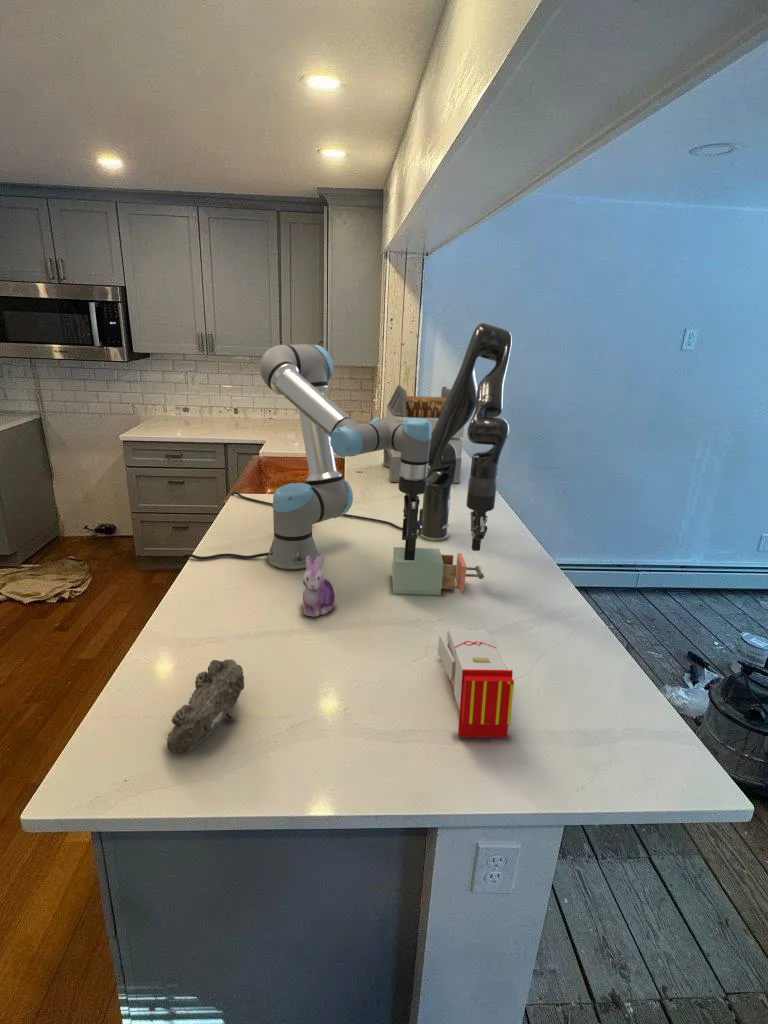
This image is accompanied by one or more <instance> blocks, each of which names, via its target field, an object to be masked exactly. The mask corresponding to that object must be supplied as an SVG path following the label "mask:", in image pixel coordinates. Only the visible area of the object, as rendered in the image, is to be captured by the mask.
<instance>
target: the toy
mask: <svg viewBox="0 0 768 1024" xmlns="http://www.w3.org/2000/svg"><path fill="white" fill-rule="evenodd" d="M446 640H447V643H446V641H445V639H444V636H443V635H442V634H439V637H438V646H437V656H438V657H439V659H440V661H441V663H442V666H443V668H444V670H445V672H446V674H447V677H448V679H449V681H450V684H451V687H452V690H453V693H454V697H455V701H456V705H457V708H458V711H459V714H458V715H459V716H458V730H457V731H458V732H457V737H458V738H508V731H509V726H510V725H511V717H512V707H513V697H514V696H513V695H514V684H515V680H514V679H513V673H514V671H513V670H512V669H508V667H507V665H506V662H505V661H504V659H503V658H502V655H501V653H500V651H499V649H498V647H497V643H496V639H495V637H494V635H493V634H491V632H490V631H489V629H467V628H466V629H465V628H463V629H461V628H460V629H459V628H448V630H447V639H446Z"/></svg>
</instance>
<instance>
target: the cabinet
mask: <svg viewBox="0 0 768 1024" xmlns="http://www.w3.org/2000/svg"><path fill="white" fill-rule="evenodd" d="M392 554H393V555H392V556H393V557H392V573H391V574H392V575H391V579H392V581H391V582H392V593H393V594H398V595H399V594H401V595H402V594H403V595H429V596H430V595H431V596H433V595H434V596H441V595H442V589H441V588H442V577H443V566H444V563H443V559H442V556H441V555H442V553H441V549H440V548H431V547H430V548H427V547H426V548H425V547H415V559H414V560H404V555H405V547H397V546H393V552H392Z"/></svg>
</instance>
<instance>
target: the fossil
mask: <svg viewBox="0 0 768 1024" xmlns="http://www.w3.org/2000/svg"><path fill="white" fill-rule="evenodd" d="M243 670H244V669H243V667H242V665H240V664H237V662H236V661H235V660H234V659H232V658H231V659H227V658H226V659H224V660H223V661H222V660H217V659H212V660H211V661H210V663H209V665H208V666H207V671H201V672H199V673H198V674H197V675H196V676H195V680H194V684H195V685H194V687H195V689H194V690H193V693H192V694H191V697H190V698H189V700H188V704H184V705H182V706H181V707H180V709H177V710H176V711H175V713H174V715H173V716H172V718H171V723H172V724H173V727H172V730H171V731H170V732H168V734H167V738H166V741H167V742H166V745H167V749H168V750H169V751H173V752H174V753H176V754H178V753H182V752H188V751H189V752H192V751H193V750H195V748H196V747H197V746H199V744H200V743H201V742H203V741H204V740H205V739H206V738H207V737H208V736H209V735H210V734H211V733H212V732H214V730H215V729H217V727H218V726H219V724H220V722H221V721H222V720H223V719H224V718H225V716H226V717H227V719H229V720H233V717H232V715H230V714H229V710H230V709H231V708H234V706H235V704H236V703H237V702H238V699H239V697H240V695H241V693H242V691H243V690H245V689H244V688H245V675H244V671H243Z"/></svg>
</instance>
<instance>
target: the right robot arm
mask: <svg viewBox="0 0 768 1024" xmlns="http://www.w3.org/2000/svg"><path fill="white" fill-rule="evenodd" d="M512 338H513V336H512V334H511V332H510V331H509V330H507V329H504V328H503V327H498V326H495V325H492V324H489V323H485V322H480V323H478V325H476V326H475V328H474V330H473V332H472V335H471V337H470V340H469V343H468V345H467V348H466V351H465V354H464V357H463V360H462V363H461V366H460V368H459V370H458V373H457V376H456V377H455V380H454V382H453V385H452V387H451V388H450V390H451V391H450V393H449V395H448V397H447V400H446V402H445V405H444V407H443V410H442V412H441V415H440V417H439V419H438V421H437V423H436V426H435V428H434V430H433V432H432V433H431V436H432V438H431V443H430V451H429V463H428V466H430V469H427V470H428V473H432V474H431V475H430V476H429V477H427V478H426V479H427V489H426V492H425V493H423V494H422V496H423V497H422V506H421V508H420V509H419V514H418V521H417V536H420V538H421V539H424V540H426V541H432V542H440V541H444V540H446V539H447V538H448V528H449V526H450V524H449V517H450V516H449V514H450V504H451V494H452V493H451V491H452V486H453V484H454V483H453V482H454V476H455V469H456V461H457V455H456V450H455V448H454V446H453V445H452V444H450V443H448V442H449V441H450V440H451V438H452V437H453V436H454V435H455V434H456V433H457V432H458V431H459V430H460V429H461V428H462V427H463V426H464V427H465V425H466V424H468V422H469V421H470V422H469V424H468V427H467V433H466V434H467V438H468V440H469V441H470V443H472V444H474V445H484V446H485V445H486V446H492V447H491V448H490V449H488V450H485V451H479V452H475V453H473V454H472V457H471V466H470V474H469V478H468V483H467V484H468V485H467V496H466V507H467V508H468V509H470V510H471V511H470V531H471V532H470V533H471V537H472V538H471V550H472V551H473V552H479V551H481V545H482V540H484V539H485V536H486V533H487V532H488V525H487V523H488V519H489V518H488V515H487V512H491V511H493V510H494V509H495V503H496V494H497V487H498V486H497V485H498V481H497V480H498V479H497V478H498V467H499V461H500V459H501V458H500V457H501V454H502V451H503V449H504V447H505V444H506V442H507V439H508V438H509V433H510V425H509V422H507V420H506V419H504V418H500V417H499V416H500V415H501V414H502V412H503V405H504V404H503V403H504V385H505V380H506V374H507V370H508V365H509V360H510V355H511V351H512V350H511V349H512V342H513V339H512ZM478 358H482V359H485V360H488V361H492V362H494V366H493V368H491V370H490V371H489V372H488V373H487V374H486V375H484V376H483V378H482V379H481V380H480V382H479V384H477V378H476V371H475V370H476V369H475V368H476V363H477V360H478ZM234 495H236V496H238V497H239V498H241V499H245V500H248V501H252V502H256V503H259V504H265V505H269V506H272V504H273V502H269V501H264V500H260V499H256V498H251V497H248V496H244V495H242V494H240V493H239V492H236V491H234V492H232V493H230V496H234ZM340 517H347V518H354V519H361V520H366V521H372V522H378V523H381V524H387V525H390V526H392V527H394V528H396V529H398V530H400V531H403V527H401V526H398V525H396V524H395V523H393V522H391V521H387V520H383V519H378V518H372V517H367V516H360V515H354V514H348V513H345V514H343V515H341V516H340Z"/></svg>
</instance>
